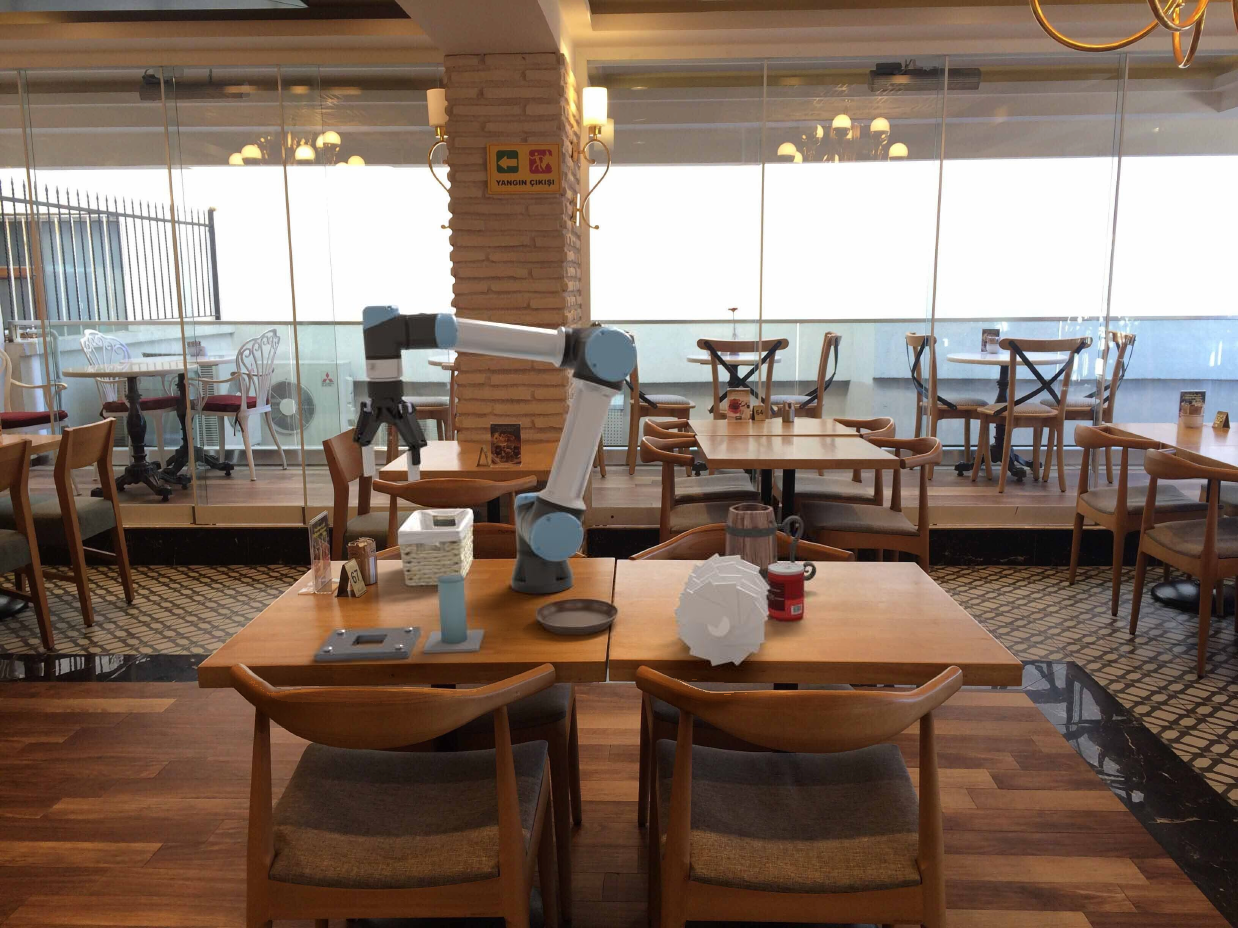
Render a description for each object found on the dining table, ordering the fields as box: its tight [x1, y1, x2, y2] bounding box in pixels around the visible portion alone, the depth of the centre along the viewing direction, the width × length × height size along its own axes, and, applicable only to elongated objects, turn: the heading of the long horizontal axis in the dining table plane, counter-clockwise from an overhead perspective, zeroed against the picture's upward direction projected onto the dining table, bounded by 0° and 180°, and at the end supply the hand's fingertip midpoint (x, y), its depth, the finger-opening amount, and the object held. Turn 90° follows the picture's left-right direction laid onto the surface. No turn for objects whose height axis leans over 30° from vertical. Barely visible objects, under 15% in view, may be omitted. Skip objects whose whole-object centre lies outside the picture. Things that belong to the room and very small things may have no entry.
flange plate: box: [314, 626, 422, 662], centre depth 191 cm, size 18×14×2 cm
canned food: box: [767, 561, 805, 623], centre depth 202 cm, size 8×8×11 cm
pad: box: [422, 629, 485, 654], centre depth 192 cm, size 11×11×1 cm
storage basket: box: [397, 507, 475, 587], centre depth 242 cm, size 24×16×15 cm
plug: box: [437, 575, 468, 644], centre depth 191 cm, size 5×5×13 cm
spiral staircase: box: [673, 553, 770, 667], centre depth 183 cm, size 18×18×25 cm
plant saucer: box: [535, 597, 619, 636], centre depth 202 cm, size 18×18×3 cm
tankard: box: [724, 502, 817, 601], centre depth 220 cm, size 24×17×20 cm
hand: (391, 478), depth 203 cm, fingers open, 13 cm apart
